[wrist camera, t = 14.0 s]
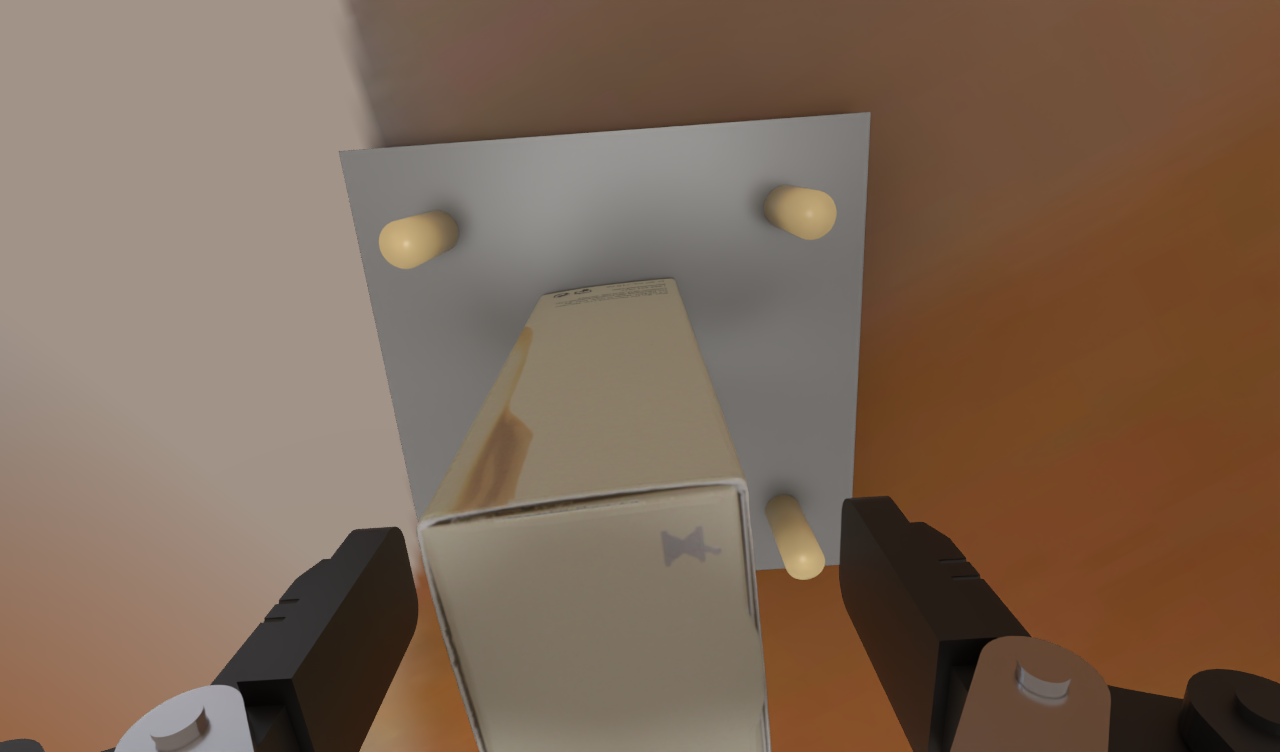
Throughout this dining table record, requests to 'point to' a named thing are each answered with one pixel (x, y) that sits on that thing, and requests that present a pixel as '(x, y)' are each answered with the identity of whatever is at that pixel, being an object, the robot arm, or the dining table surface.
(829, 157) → the standoff plate
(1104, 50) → the dining table surface
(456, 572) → the skincare box
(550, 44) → the dining table surface
